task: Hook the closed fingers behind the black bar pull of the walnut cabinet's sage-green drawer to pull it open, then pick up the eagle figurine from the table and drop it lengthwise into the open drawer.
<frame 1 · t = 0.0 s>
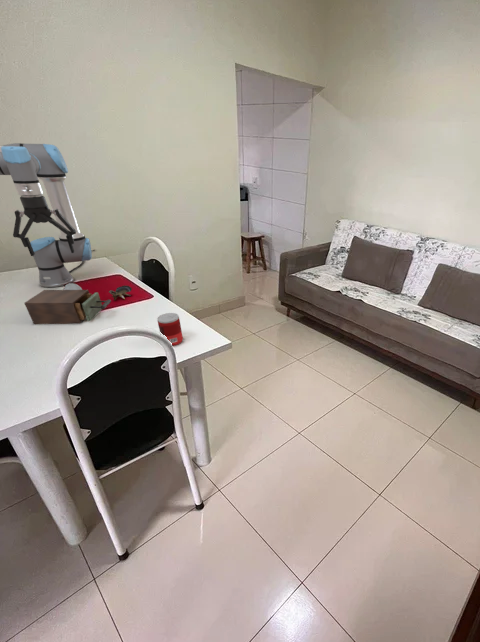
hand: (53, 253, 131), 28 cm above the table, tool pointing down, fingers open, 13 cm apart
cabinet: (65, 316, 145), on the table
ceramic mug: (77, 300, 160), on the table
drawer: (80, 306, 143), point 5 cm above the table, slide at 3.0 cm
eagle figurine: (122, 298, 164), on the table
canned food: (173, 342, 131), on the table
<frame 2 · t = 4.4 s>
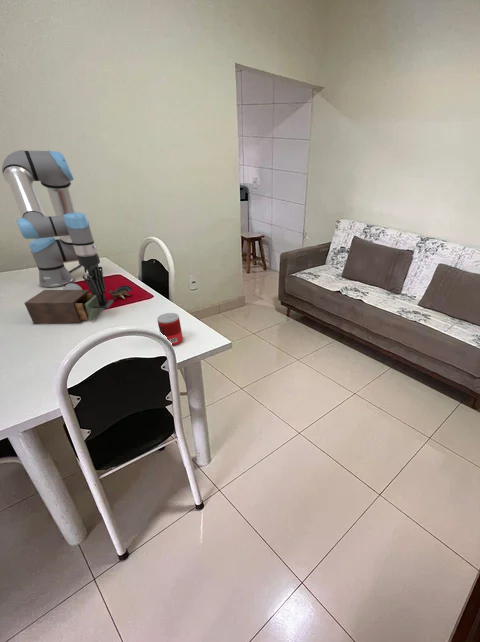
hand: (104, 307, 144), 4 cm above the table, tool pointing down, fingers closed
drawer: (83, 306, 144), point 5 cm above the table, slide at 4.1 cm, touching gripper
everything else where it was.
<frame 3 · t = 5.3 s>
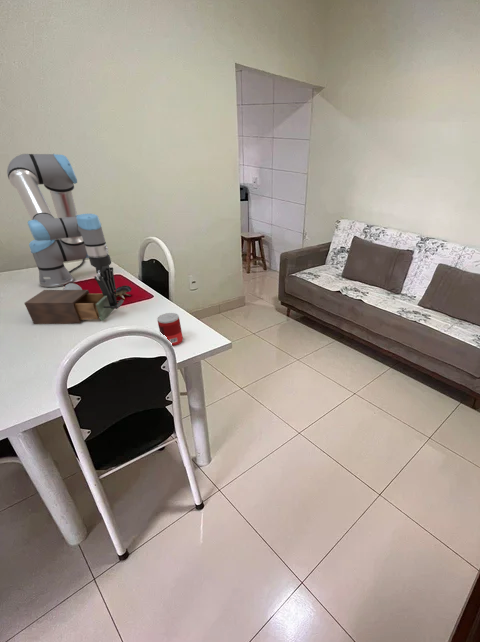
hand: (114, 308, 145), 4 cm above the table, tool pointing down, fingers closed
drawer: (93, 306, 144), point 5 cm above the table, slide at 8.6 cm, touching gripper
everything else where it was.
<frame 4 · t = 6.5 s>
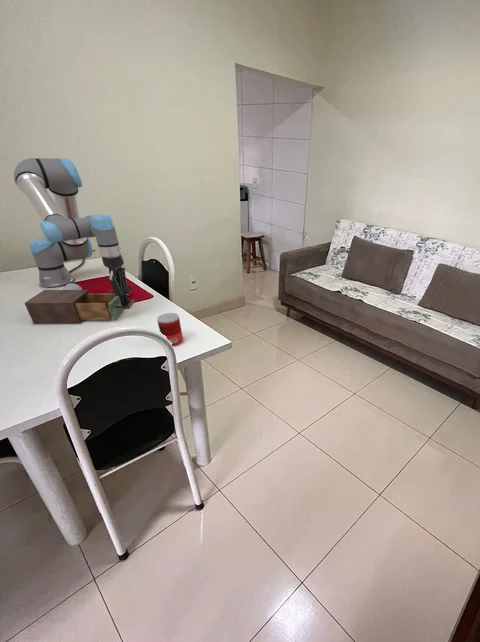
hand: (126, 308, 146), 4 cm above the table, tool pointing down, fingers closed
drawer: (105, 306, 144), point 5 cm above the table, slide at 13.5 cm, touching gripper
everything else where it was.
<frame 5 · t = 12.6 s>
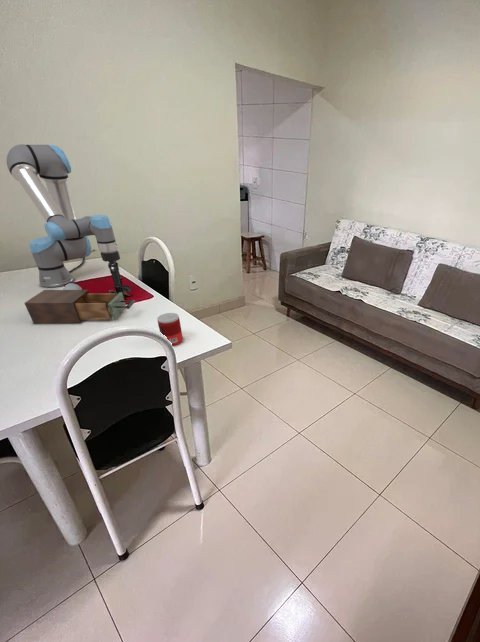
hand: (122, 296, 163), 1 cm above the table, tool pointing down, fingers closed on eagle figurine, 8 cm apart
drawer: (105, 306, 144), point 5 cm above the table, slide at 13.5 cm
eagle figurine: (122, 298, 164), on the table, touching gripper
everything else where it was.
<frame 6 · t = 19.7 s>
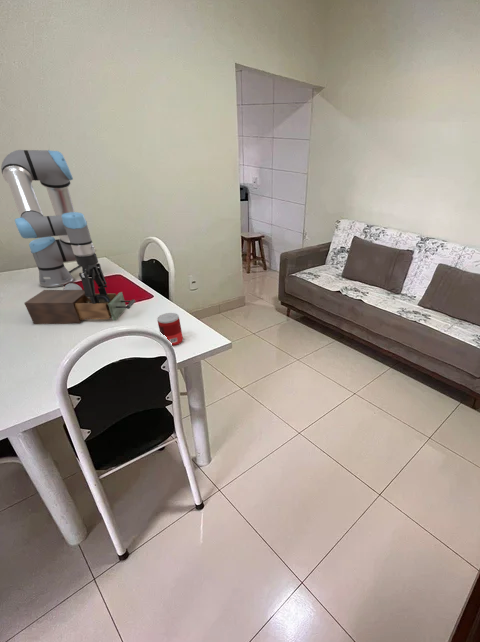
hand: (101, 305, 144), 5 cm above the table, tool pointing down, fingers closed on drawer, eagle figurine, 7 cm apart
drawer: (105, 306, 144), point 5 cm above the table, slide at 13.5 cm, touching gripper
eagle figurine: (101, 308, 145), point 4 cm above the table, touching gripper
everything else where it was.
when the fingers open (8 cm above the table, at t = 20.7 s): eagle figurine stays where it is, resting on drawer.
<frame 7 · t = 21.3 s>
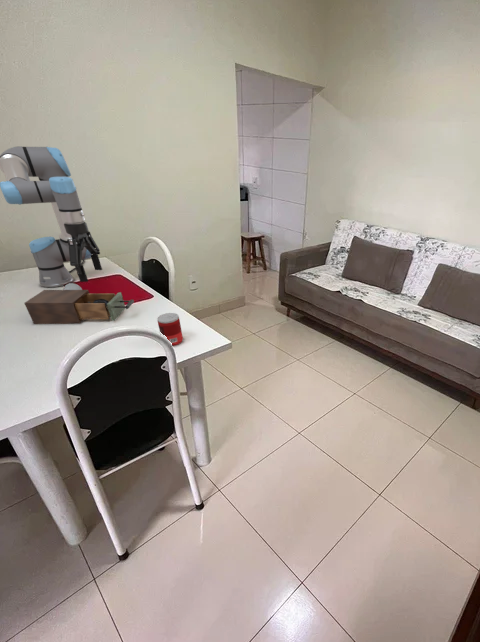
hand: (91, 275, 137), 19 cm above the table, tool pointing down, fingers open, 13 cm apart
drawer: (104, 306, 144), point 5 cm above the table, slide at 13.0 cm, touching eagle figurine
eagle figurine: (101, 312, 146), point 2 cm above the table, touching drawer
everything else where it was.
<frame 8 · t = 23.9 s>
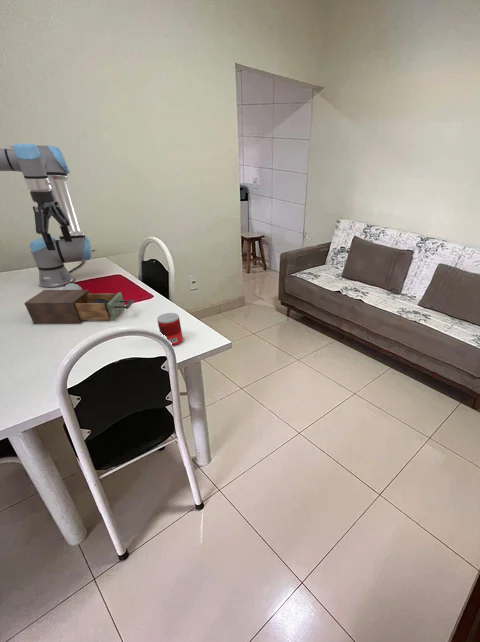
hand: (60, 245, 138), 29 cm above the table, tool pointing down, fingers open, 13 cm apart
nothing on the table moved.
at the end: drawer slide at 13.0 cm; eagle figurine inside the target area in the drawer (0.6 cm from its centre), point 1.9 cm above the cabinet's base; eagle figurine touching drawer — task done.
